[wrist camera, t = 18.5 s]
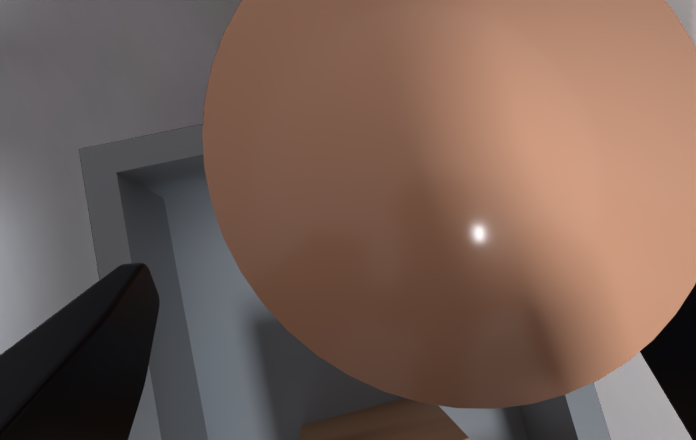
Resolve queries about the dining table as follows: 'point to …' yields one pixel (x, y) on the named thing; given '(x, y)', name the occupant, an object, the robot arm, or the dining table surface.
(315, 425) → the cube
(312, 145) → the cylinder
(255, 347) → the tote
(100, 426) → the robot arm
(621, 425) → the dining table surface
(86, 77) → the dining table surface
